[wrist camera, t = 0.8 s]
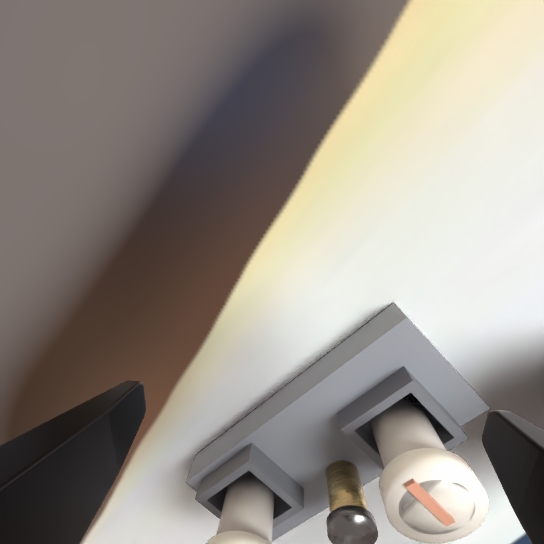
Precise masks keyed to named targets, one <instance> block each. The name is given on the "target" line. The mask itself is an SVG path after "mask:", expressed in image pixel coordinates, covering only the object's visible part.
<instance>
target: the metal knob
mask: <svg viewBox="0 0 544 544" xmlns="http://www.w3.org/2000/svg"><path fill="white" fill-rule="evenodd" d="M326 480H327V489H328V497H329V506H330V514H329V516H328V518H327V532H328V537H329V540H330V541H331V542H332V544H374V543H375V542H376V540H377V537H378V531H377V527H376V523H375V519H374V517H373V515H372V514H371V513H370V512H369V511H368V510H367V506H366V501H365V497H364V493H363V488H362V484H361V480H360V475H359V471H358V468H357V467H356V466H355V465H354V464H353V463H351V462H349V461H345V460H339V461H335V462H333V463H331V464H330V465H329V466H328V467H327V469H326Z"/></svg>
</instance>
